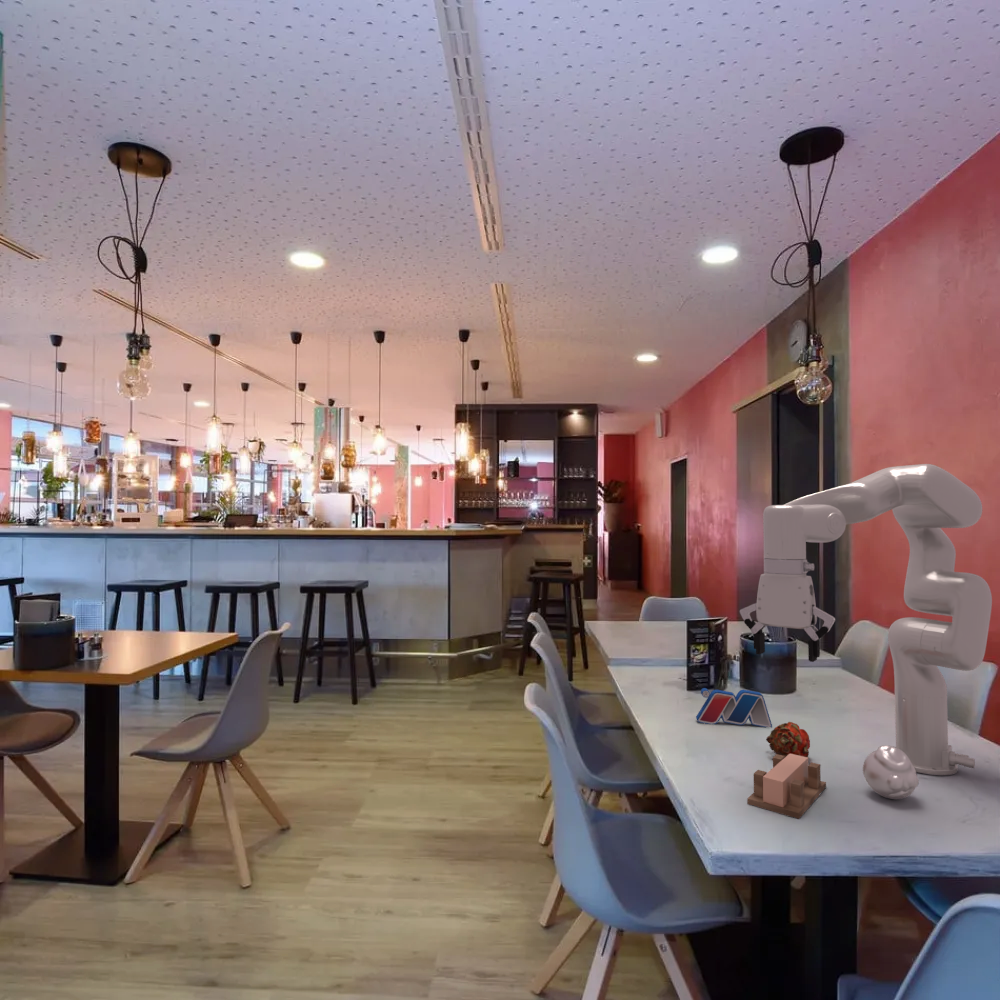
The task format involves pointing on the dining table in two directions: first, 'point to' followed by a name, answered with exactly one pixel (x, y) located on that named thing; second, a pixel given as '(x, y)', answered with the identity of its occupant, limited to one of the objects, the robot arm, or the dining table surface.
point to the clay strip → (784, 779)
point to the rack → (799, 792)
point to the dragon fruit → (789, 740)
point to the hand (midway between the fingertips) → (786, 656)
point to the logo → (734, 708)
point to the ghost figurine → (890, 772)
